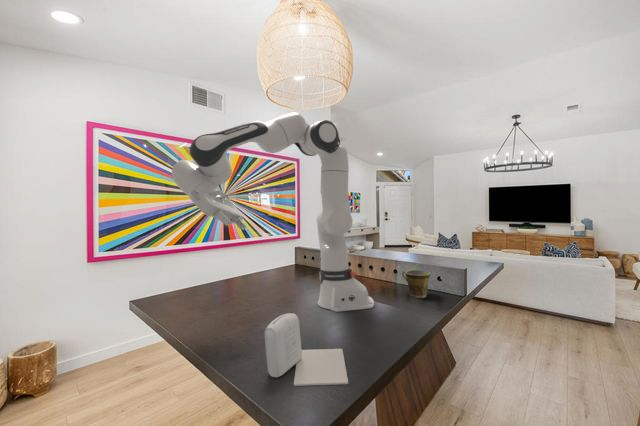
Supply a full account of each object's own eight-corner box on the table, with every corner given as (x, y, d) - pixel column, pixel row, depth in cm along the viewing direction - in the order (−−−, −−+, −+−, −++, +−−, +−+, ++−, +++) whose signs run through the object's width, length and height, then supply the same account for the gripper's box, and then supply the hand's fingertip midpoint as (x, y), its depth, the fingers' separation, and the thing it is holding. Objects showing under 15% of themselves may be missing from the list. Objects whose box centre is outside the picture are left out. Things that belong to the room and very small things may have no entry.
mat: (342, 350, 78) (342, 348, 78) (348, 384, 63) (348, 382, 63) (298, 351, 78) (298, 350, 78) (293, 385, 63) (293, 384, 63)
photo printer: (291, 354, 76) (287, 308, 75) (304, 357, 73) (300, 309, 73) (265, 375, 67) (260, 323, 67) (279, 380, 65) (274, 326, 64)
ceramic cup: (435, 296, 121) (434, 272, 121) (420, 301, 115) (420, 276, 115) (410, 289, 132) (409, 267, 132) (395, 293, 126) (395, 271, 126)
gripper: (195, 181, 81) (226, 212, 77) (231, 198, 101) (256, 223, 97) (180, 197, 81) (210, 229, 77) (219, 211, 101) (244, 237, 97)
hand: (236, 226), depth 87 cm, fingers open, 8 cm apart
